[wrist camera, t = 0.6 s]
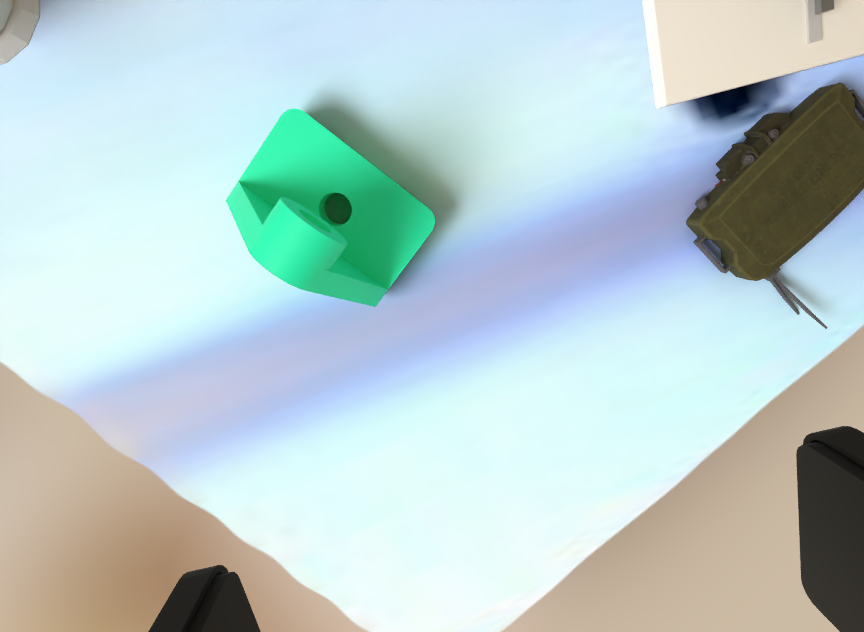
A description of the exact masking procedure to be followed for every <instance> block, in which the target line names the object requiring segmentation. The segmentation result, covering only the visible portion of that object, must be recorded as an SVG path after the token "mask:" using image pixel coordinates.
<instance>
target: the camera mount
mask: <svg viewBox="0 0 864 632" xmlns="http://www.w3.org/2000/svg"><path fill="white" fill-rule="evenodd" d="M334 193H340V194H342V195H344V196H345V197H346V198H347V199H348V200H349V202H350V204H351V207H352V213H351V216H350V218H349V220H348V221H347V222H346V223H344V224H338V223H335V222H333V221H331V220H330V219H329V218H328V216H327V215H326V212H325V203H326V200H327V199H328V197H329V196H331V195H332V194H334ZM226 201H227V204H228V206H229V208H230V210H231V213H232V215H233V217H234V219H235V221H236V224H237V226H238V228H239V230H240V233H241V235H242V237H243V239H244V241H245V244H246V246H247V248H248V250H249V252H250V254H251V255H252V256H253V258H254V259H255V260H256V261H257V262H258V263H259V264H261V265H262V266H263V267H264V268H265V269H267V270H268V271H269V272H271V273H272V274H274V275H275V276H277V277H278V278H280V279H281V280H283V281H285V282H287V283H288V284H290V285H292V286H295V287H297V288H299V289H302V290H306V291H310V292H314V293H318V294H323V295H327V296H331V297H336V298H340V299H344V300H348V301H353V302H357V303H361V304H365V305H370V306H374V307H375V306H376V305H377V304H378V302H379V301H380V300H381V298H382V297H383V296H384V294H385V293H386V292H387V290H388V289H389V288H390V286H391V285H392V284H393V282H394V281H395V280H396V278H397V277H398V276H399V274H400V273H401V272H402V270H403V269H404V268H405V266H406V265H407V264H408V262H409V261H410V260H411V258H412V257H413V256H414V254H415V253H416V252H417V250H418V249H419V248H420V246H421V245H422V244H423V242H424V241H425V240H426V238H427V237H428V236H429V234H430V233H431V232H432V230H433V229H434V226H435V217H434V214H433V213H432V211H431V210H430V209H429V208H428V207H426V206H425V205H424V204H423V203H421V202H420V201H419V200H417V199H416V198H415V197H414V196H412V195H411V194H410V193H408V192H407V191H406V190H405V189H403V188H402V187H401V186H399V185H398V184H397V183H396V182H394V181H393V180H392V179H391V178H389V177H388V176H387V175H385V174H384V173H383V172H382V171H380V170H379V169H378V168H376V167H375V166H374V165H373V164H371V163H370V162H369V161H367V160H366V159H365V158H364V157H362V156H361V155H360V154H358V153H357V152H356V151H354V150H353V149H352V148H351V147H349V146H348V145H347V144H345V143H344V142H343V141H342V140H340V139H339V138H338V137H336V136H335V135H334V134H332V133H331V132H330V131H329V130H327V129H326V128H325V127H323V126H322V125H321V124H320V123H318V122H317V121H316V120H314V119H313V118H312V117H311V116H309V115H308V114H307V113H305V112H304V111H302V110H299V109H290V110H287V111H286V112H284V113H283V114H282V116H281V117H280V119H279V120H278V122H277V123H276V125H275V126H274V128H273V129H272V131H271V132H270V134H269V135H268V137H267V138H266V140H265V141H264V143H263V145H262V146H261V148H260V149H259V151H258V152H257V154H256V155H255V157H254V158H253V160H252V161H251V163H250V164H249V166H248V168H247V169H246V171H245V172H244V174H243V175H242V177H241V178H240V180H239V181H238V183H237V184H236V186H235V187H234V189H233V191H232V192H231V194H230V195H229V197H228V198H227V200H226Z"/></svg>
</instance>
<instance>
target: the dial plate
mask: <svg viewBox="0 0 864 632" xmlns="http://www.w3.org/2000/svg"><path fill="white" fill-rule="evenodd" d="M642 2H643V10H644V18H645V26H646V34H647V42H648V50H649V58H650V66H651V74H652V82H653V89H654V97H655V105H656V109H658V108H662V107H666V106H669V105H673V104H677V103H681V102H685V101H689V100H692V99H696V98H700V97H704V96H708V95H711V94H715V93H719V92H723V91H727V90H731V89H734V88H738V87H742V86H746V85H750V84H754V83H757V82H761V81H765V80H769V79H773V78H776V77H780V76H784V75H788V74H792V73H796V72H799V71H803V70H807V69H811V68H815V67H819V66H822V65H826V64H830V63H834V62H838V61H841V60H845V59H849V58H853V57H857V56H861V55H864V0H834V9H833V10H831V11H829V12H825V13H821V14H818V15H815V0H642Z"/></svg>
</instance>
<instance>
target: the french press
mask: <svg viewBox="0 0 864 632" xmlns="http://www.w3.org/2000/svg"><path fill="white" fill-rule="evenodd" d="M39 17H40V3H39V0H0V64H4V63H7V62H8V61H9V60H11V59H12V58H13V57H14V56H15V55H16V54H18V53H19V52H20V51H21V50H22V49H23V48H25V47H26V46H27V45H28V44H29V41H30V39H31V36H32V34H33V32H34V29H35V27H36V24H37V22H38V19H39Z"/></svg>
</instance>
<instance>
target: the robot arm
mask: <svg viewBox="0 0 864 632" xmlns="http://www.w3.org/2000/svg"><path fill="white" fill-rule="evenodd" d="M797 480H798V481H797V482H798V508H799V531H800V533H799V534H800V558H801V559H800V560H801V580H802V584H803V587H804V589H805V592H806V594H807V596H808V597H809V599H810V600H811V602H812V603H813V604H814V605H815V606H816V607H817V608H818V609H819V611H821V613H822V614H823V615H824V616H825V617H826V618H827V619H828V620H829V621H830V622H831V623H832V624H833V625H834V626H835V627H836V628H837V629H838V630H839V631H840V632H864V433H863V432H861V431H859V430H857V429H855V428H852V427H849V426H842V427H838V428H833V429H828V430H824V431H819V432H815V433H811V434H809V435H807V436H806V437H805V439H804V442H803V445H801V446H800V447H798V449H797ZM149 632H260V629H259V627H258V624H257V622H256V619H255V616H254V614H253V612H252V609H251V606H250V604H249V601H248V599H247V596H246V594H245V591H244V588H243V586H242V584H241V581H240V579H239V576H238V575H237V574H236V573H235V572H228V570H227V569H226V568H225V567H224V566H223V565H217V566H213V567H209V568H204V569H200V570H195V571H190V572H187V573H185V574H184V575H183V576H182V577H181V578H180V579H179V581H178V583H177V584H176V586H175V588H174V589H173V591H172V593H171V594H170V596H169V598H168V600H167V601H166V603H165V605H164V606H163V608H162V610H161V611H160V613H159V615H158V617H157V618H156V620H155V622H154V623H153V625H152V627H151V628H150V630H149Z"/></svg>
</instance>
